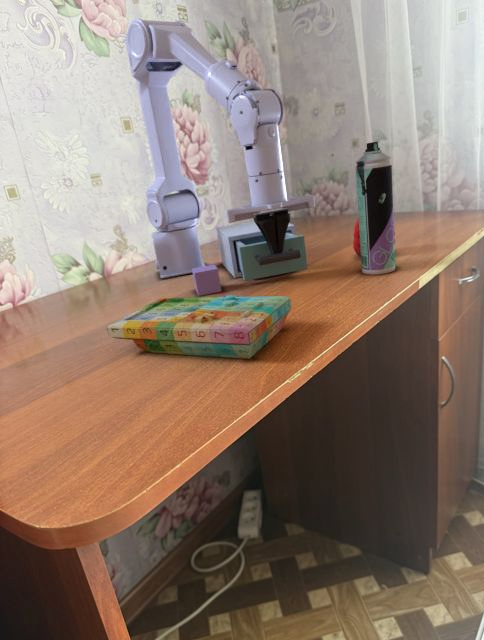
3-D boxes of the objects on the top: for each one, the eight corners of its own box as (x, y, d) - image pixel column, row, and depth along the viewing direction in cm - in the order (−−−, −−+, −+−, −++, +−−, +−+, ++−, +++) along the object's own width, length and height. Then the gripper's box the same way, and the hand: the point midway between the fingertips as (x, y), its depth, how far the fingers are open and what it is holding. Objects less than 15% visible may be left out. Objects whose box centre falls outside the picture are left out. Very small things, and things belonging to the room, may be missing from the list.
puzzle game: (247, 324, 53) (104, 320, 62) (253, 365, 54) (114, 355, 63) (289, 291, 62) (160, 291, 71) (293, 326, 64) (167, 322, 73)
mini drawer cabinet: (299, 265, 95) (294, 225, 92) (234, 278, 92) (228, 237, 90) (279, 253, 108) (274, 217, 105) (222, 263, 106) (216, 227, 103)
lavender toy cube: (198, 296, 84) (194, 273, 83) (196, 290, 88) (191, 268, 86) (221, 291, 85) (217, 268, 83) (218, 286, 88) (214, 264, 87)
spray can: (386, 275, 80) (381, 141, 73) (356, 273, 83) (347, 145, 76) (400, 266, 84) (396, 138, 76) (370, 265, 87) (364, 142, 80)
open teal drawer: (315, 273, 84) (312, 239, 82) (249, 286, 82) (244, 251, 80) (286, 255, 100) (283, 226, 98) (231, 266, 98) (226, 236, 96)
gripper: (225, 182, 74) (240, 271, 79) (317, 166, 76) (326, 254, 81) (218, 181, 81) (232, 264, 86) (303, 167, 83) (312, 248, 88)
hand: (277, 258), depth 84 cm, fingers closed, pressing on open teal drawer
